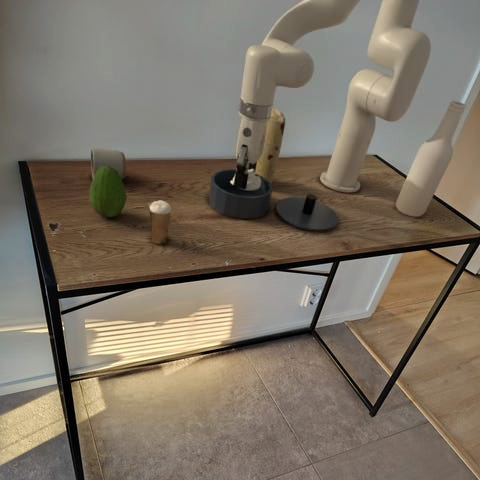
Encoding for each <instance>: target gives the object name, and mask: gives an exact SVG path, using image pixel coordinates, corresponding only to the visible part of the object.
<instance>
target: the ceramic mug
mask: <svg viewBox="0 0 480 480" xmlns="http://www.w3.org/2000/svg"><path fill="white" fill-rule="evenodd" d="M90 164H91V165H90V166H91V167H90V168H91V175H92V176H91V177H92V179H93V178H94V176H95V174H96V172H97V170H98V169H99V168H100V167H101V166H104V165H109V166H111V167H113V168H114V169H116V171H117V172H118V173H119V175H120V177H121V180H122V181H123V180H124V179H125V178H126V173H127V163H126V156H125V153H124V152H122V151H120V150H116V149H104V148H97V147H91V149H90Z"/></svg>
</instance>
